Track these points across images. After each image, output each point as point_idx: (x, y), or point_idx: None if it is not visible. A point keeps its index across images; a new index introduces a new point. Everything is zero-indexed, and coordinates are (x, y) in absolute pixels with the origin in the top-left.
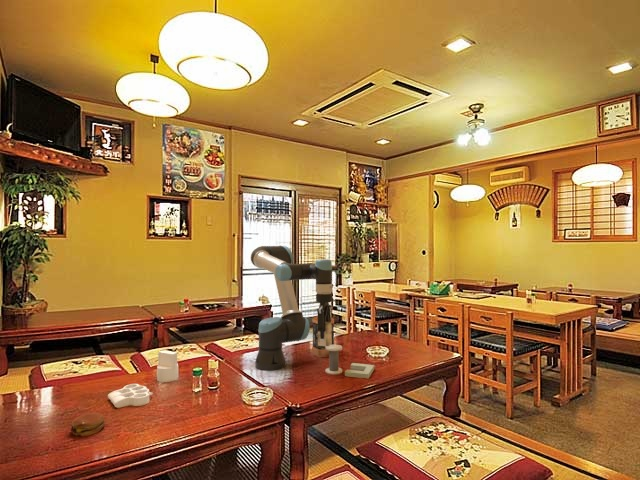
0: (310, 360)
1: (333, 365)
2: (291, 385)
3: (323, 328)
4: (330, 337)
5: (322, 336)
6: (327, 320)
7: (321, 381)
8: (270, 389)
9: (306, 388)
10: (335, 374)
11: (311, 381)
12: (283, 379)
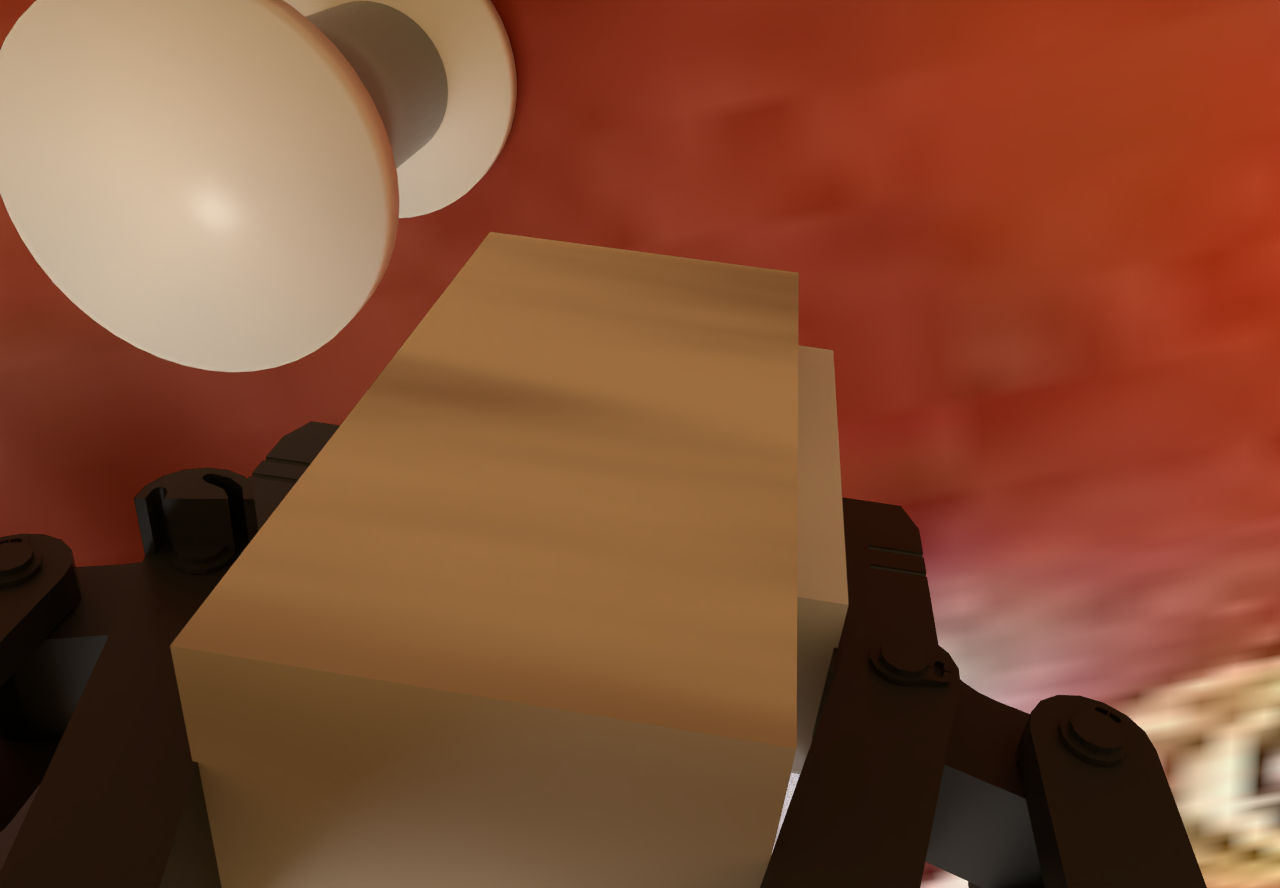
0: (55, 489)
1: (417, 95)
2: (1038, 526)
3: (1086, 771)
4: (564, 330)
5: (920, 578)
6: (183, 862)
7: (845, 187)
8: (1178, 698)
9: (1145, 335)
10: (503, 26)
11: (864, 324)
12: None
